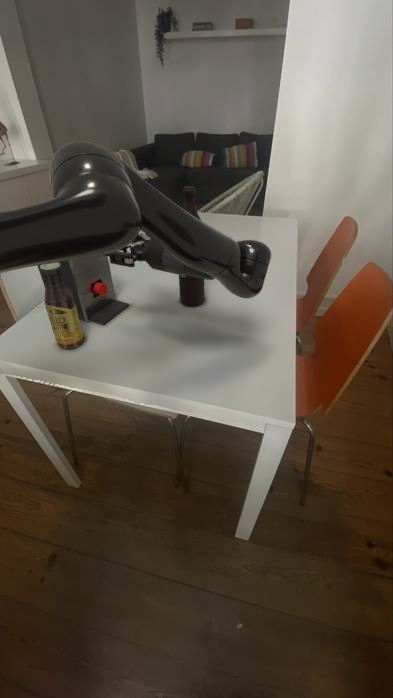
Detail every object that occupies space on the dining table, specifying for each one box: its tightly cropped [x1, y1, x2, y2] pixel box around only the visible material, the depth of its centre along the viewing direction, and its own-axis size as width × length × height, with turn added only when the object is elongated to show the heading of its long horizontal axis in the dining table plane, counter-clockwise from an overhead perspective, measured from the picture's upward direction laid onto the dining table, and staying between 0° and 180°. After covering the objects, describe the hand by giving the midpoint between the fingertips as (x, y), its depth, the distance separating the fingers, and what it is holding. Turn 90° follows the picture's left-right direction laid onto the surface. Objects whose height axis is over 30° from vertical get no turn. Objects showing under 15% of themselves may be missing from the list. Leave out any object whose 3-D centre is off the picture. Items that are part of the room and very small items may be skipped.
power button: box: [93, 282, 107, 296], centre depth 84 cm, size 2×3×3 cm, turn 153°
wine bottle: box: [178, 185, 205, 307], centre depth 83 cm, size 7×7×30 cm
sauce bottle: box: [40, 262, 84, 350], centre depth 71 cm, size 7×6×20 cm
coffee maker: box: [37, 255, 130, 326], centre depth 84 cm, size 18×12×20 cm, turn 63°
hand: (113, 243), depth 72 cm, fingers open, 8 cm apart
